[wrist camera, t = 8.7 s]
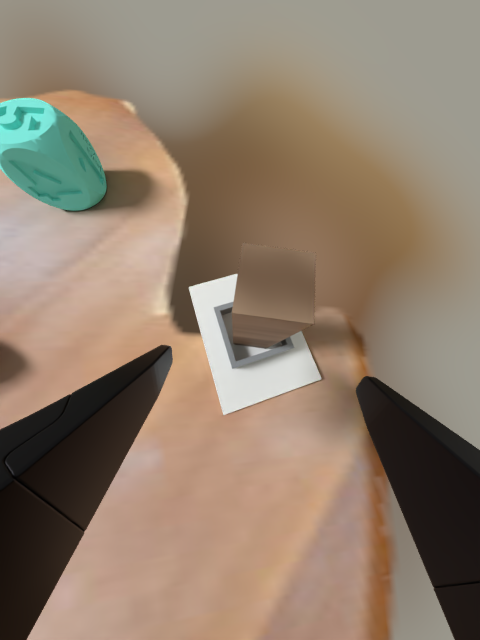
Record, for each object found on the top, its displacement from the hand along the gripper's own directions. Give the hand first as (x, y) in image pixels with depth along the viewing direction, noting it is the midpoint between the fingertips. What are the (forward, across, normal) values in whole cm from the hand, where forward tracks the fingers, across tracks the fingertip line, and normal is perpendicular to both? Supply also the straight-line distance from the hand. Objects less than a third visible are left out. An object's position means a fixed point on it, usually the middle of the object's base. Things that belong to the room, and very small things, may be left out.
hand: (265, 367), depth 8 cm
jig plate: (+12, 0, +6) cm, 14 cm away
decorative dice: (+25, +29, -6) cm, 39 cm away
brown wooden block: (+12, 0, +6) cm, 13 cm away
